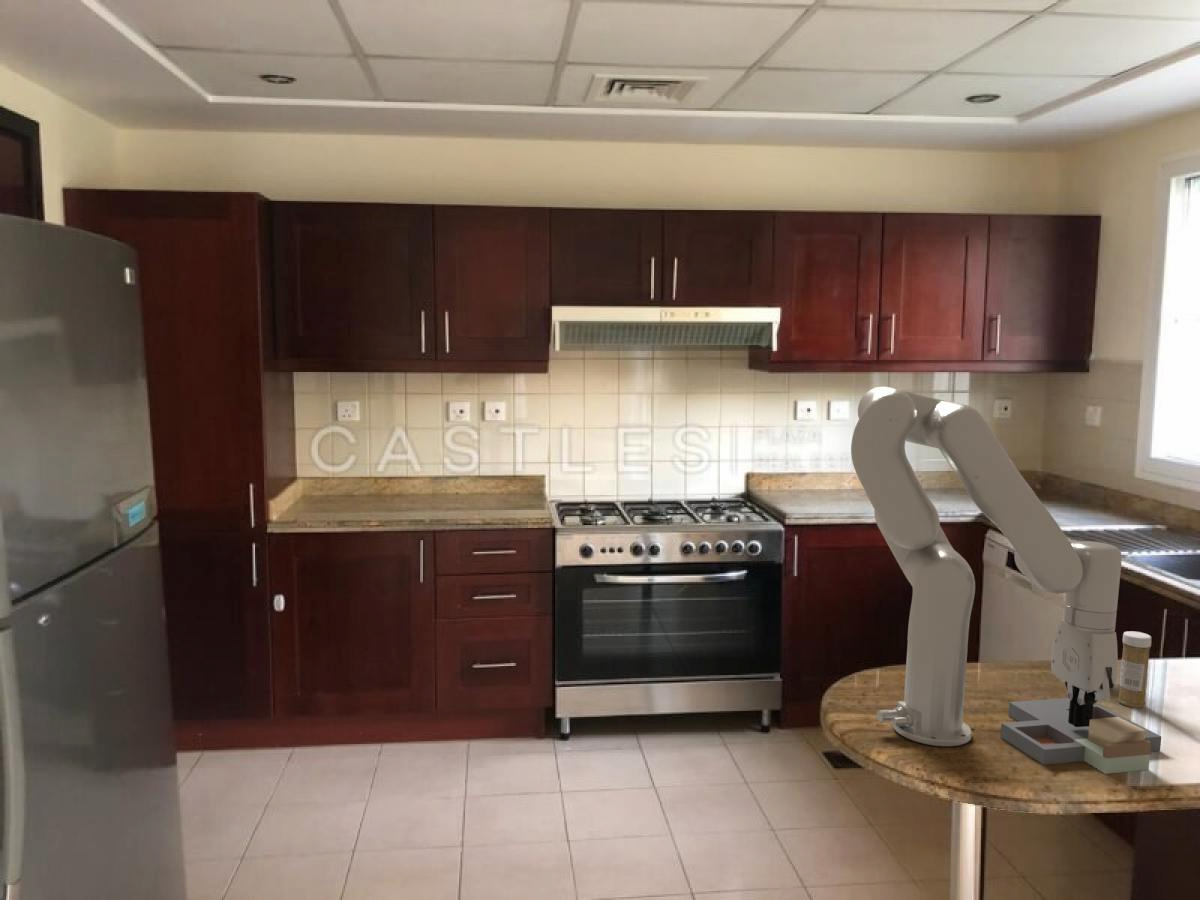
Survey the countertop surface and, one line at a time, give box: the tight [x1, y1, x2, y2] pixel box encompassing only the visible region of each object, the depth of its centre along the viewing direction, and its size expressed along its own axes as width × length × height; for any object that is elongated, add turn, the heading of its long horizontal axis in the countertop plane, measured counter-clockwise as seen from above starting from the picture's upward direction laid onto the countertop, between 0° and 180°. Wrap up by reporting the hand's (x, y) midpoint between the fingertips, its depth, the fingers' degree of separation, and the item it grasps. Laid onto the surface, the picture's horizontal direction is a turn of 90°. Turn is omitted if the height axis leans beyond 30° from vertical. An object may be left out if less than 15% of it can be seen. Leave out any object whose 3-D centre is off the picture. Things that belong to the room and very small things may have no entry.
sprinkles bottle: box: [1117, 630, 1152, 709], centre depth 171 cm, size 5×5×13 cm
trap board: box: [1000, 697, 1162, 775], centre depth 155 cm, size 23×23×4 cm
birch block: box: [1088, 717, 1146, 748], centre depth 147 cm, size 6×6×4 cm
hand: (1079, 724), depth 153 cm, fingers closed
